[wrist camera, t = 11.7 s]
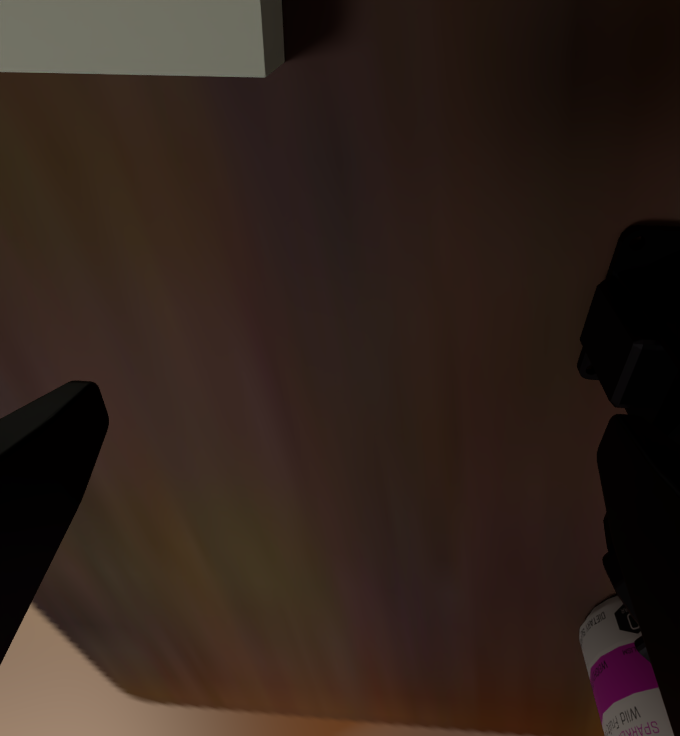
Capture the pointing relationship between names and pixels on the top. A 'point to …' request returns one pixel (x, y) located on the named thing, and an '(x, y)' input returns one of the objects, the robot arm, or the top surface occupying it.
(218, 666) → the top surface
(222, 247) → the top surface
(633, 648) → the supplement can
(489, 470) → the top surface
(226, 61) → the dock
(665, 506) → the robot arm
